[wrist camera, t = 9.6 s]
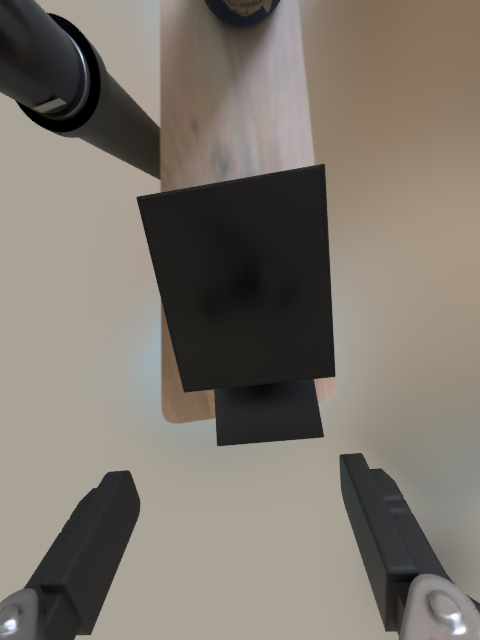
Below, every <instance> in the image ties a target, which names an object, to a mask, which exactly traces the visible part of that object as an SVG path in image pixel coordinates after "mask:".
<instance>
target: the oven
mask: <svg viewBox="0 0 480 640" xmlns="http://www.w3.org/2000/svg"><path fill="white" fill-rule="evenodd" d="M137 202H138V206H139V210H140V214H141V218H142V222H143V226H144V230H145V234H146V238H147V243H148V246H149V251H150V255H151V259H152V263H153V267H154V271H155V275H156V279H157V283H158V287H159V292H160V296H161V300H162V304H163V308H164V312H165V316H166V320H167V324H168V328H169V333H170V337H171V341H172V345H173V349H174V353H175V357H176V361H177V365H178V369H179V373H180V378H181V382H182V386H183V390H184V392H193V391H202V390H212V389H222V388H231V387H241V386H250V385H260V384H270V383H279V382H289V381H298V380H308V379H318V378H327V377H335V358H334V338H333V319H332V298H331V279H330V259H329V239H328V217H327V199H326V177H325V164H321V165H315V166H309V167H303V168H298V169H292V170H287V171H281V172H275V173H270V174H264V175H258V176H253V177H247V178H241V179H236V180H230V181H224V182H219V183H213V184H207V185H202V186H196V187H190V188H185V189H179V190H173V191H168V192H162V193H157V194H151V195H145V196H139V197H137Z"/></svg>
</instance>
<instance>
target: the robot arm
mask: <svg viewBox="0 0 480 640" xmlns="http://www.w3.org/2000/svg"><path fill="white" fill-rule="evenodd" d="M89 91H90V73H89V68H88V65H87V62H86V59H85V57H84V55H83V53H82V51H81V49H80V48H79V46H78V45H77V43H76V42H75V41H74V40H73V39H72V38H71V37H70V36H69V35H68V34H67V33H66V32H65V31H64V30H63V29H61V28H60V27H59V26H58V25H57V24H56V23H55V22H54V21H53V19H52V18H51V17H50V16H49V15H48V14H47V13H46V12H45V11H44V10H43V9H42V8H41V7H40V6H39V5H38V4H37V3H36V2H35V1H34V0H0V92H1V93H3V94H5V95H7V96H9V97H11V98H12V99H15V100H16V101H18V102H20V103H21V104H23V105H25V106H27V107H29V108H31V109H32V110H33V111H35V112H36V113H38V114H40V115H42V116H44V117H46V118H48V119H51V120H58V121H62V120H67V119H70V118H72V117H74V116H76V115H77V114H78V113H79V112H80V111H81V110H82V109H83V107H84V106H85V104H86V102H87V99H88V96H89ZM340 478H341V491H342V496H343V500H344V504H345V508H346V511H347V514H348V517H349V520H350V523H351V526H352V529H353V532H354V535H355V538H356V541H357V544H358V548H359V551H360V553H361V557H362V559H363V563H364V566H365V569H366V572H367V575H368V578H369V581H370V584H371V587H372V590H373V594H374V597H375V600H376V603H377V606H378V609H379V612H380V615H381V618H382V621H383V624H384V627H385V630H386V631H397V632H398V635H399V640H480V603H478V602H477V601H475V600H473V599H472V598H471V597H469V596H468V595H467V594H465V593H464V592H463V591H462V590H461V589H459V587H457V586H456V585H455V583H454V582H452V580H451V579H450V578H449V576H448V575H447V574H446V572H445V571H444V569H443V567H442V565H441V564H440V562H439V560H438V558H437V557H436V555H435V553H434V551H433V550H432V548H431V546H430V544H429V542H428V540H427V538H426V537H425V535H424V533H423V531H422V529H421V528H420V526H419V524H418V522H417V521H416V519H415V517H414V515H413V514H412V513H411V510H410V508H409V506H408V504H407V502H406V501H405V500H404V498H403V495H402V493H401V492H400V490H399V488H398V486H397V485H396V483H395V481H394V480H393V479H392V478H391V477H390V476H389V475H388V474H386V473H385V472H384V471H383V470H382V469H369V467H368V465H367V463H366V460H365V458H364V457H363V455H362V454H361V453H356V454H343V455H340ZM139 512H140V498H139V495H138V492H137V490H136V487H135V484H134V481H133V478H132V475H131V473H130V471H128V470H127V471H114V472H108V473H107V474H106V475H105V476H104V478H103V479H102V481H101V483H100V484H99V486H98V487H97V488H93V489H92V490H91V491H90V492H89V493H88V494H87V495H86V496H85V497H84V498H83V499H82V500H81V501H80V502H79V504H78V505H77V507H76V508H75V510H74V511H73V513H72V514H71V516H70V519H69V520H68V521H67V522H66V524H65V525H64V527H63V529H62V532H61V533H59V535H58V536H57V538H56V539H55V541H54V542H53V544H52V546H51V547H50V549H49V550H48V552H47V553H46V555H45V556H44V558H43V560H42V561H41V563H40V565H39V566H38V567H37V569H36V570H35V572H34V574H33V575H32V577H31V578H30V580H29V581H28V583H27V584H26V586H25V587H24V588H23V589H22V590H20V591H17V592H15V593H13V594H11V595H10V596H8V597H7V598H6V599H4V600H3V601H2V602H1V603H0V640H74V639H75V636H76V635H91V633H92V630H93V628H94V626H95V623H96V621H97V618H98V616H99V613H100V611H101V608H102V606H103V603H104V601H105V598H106V596H107V593H108V591H109V588H110V586H111V584H112V581H113V578H114V576H115V574H116V571H117V569H118V566H119V564H120V561H121V559H122V556H123V554H124V551H125V549H126V547H127V544H128V542H129V539H130V537H131V534H132V531H133V529H134V527H135V524H136V522H137V519H138V516H139Z"/></svg>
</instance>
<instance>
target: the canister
mask: <svg viewBox="0 0 480 640" xmlns="http://www.w3.org/2000/svg"><path fill="white" fill-rule="evenodd" d="M205 2H206V4H207V5H208V7H209V8H210V10H211V11H212V12H213V13H214V14H215V15H216V16H217V17H218V18H219V19H220V20H222V21H224V22H225V23H227V24H230V25H233V26H237V27H247V26H251V25H255V24H257V23H259V22H261V21H262V20H264V19H265V18H266V17H268V16H269V15H270V14H271V13H272V11H273V10H274V9H275V8H276V6H277V5H278V3H279V2H280V0H205Z"/></svg>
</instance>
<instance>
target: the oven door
mask: <svg viewBox="0 0 480 640" xmlns="http://www.w3.org/2000/svg"><path fill="white" fill-rule="evenodd" d="M214 393H215V413H216V432H217V446H226V445H237V444H248V443H260V442H273V441H285V440H297V439H307V438H321V437H324V434H323V428H322V423H321V417H320V412H319V406H318V400H317V395H316V389H315V384H314V379H308V380H298V381H289V382H279V383H270V384H260V385H250V386H241V387H231V388H222V389H214Z"/></svg>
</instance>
